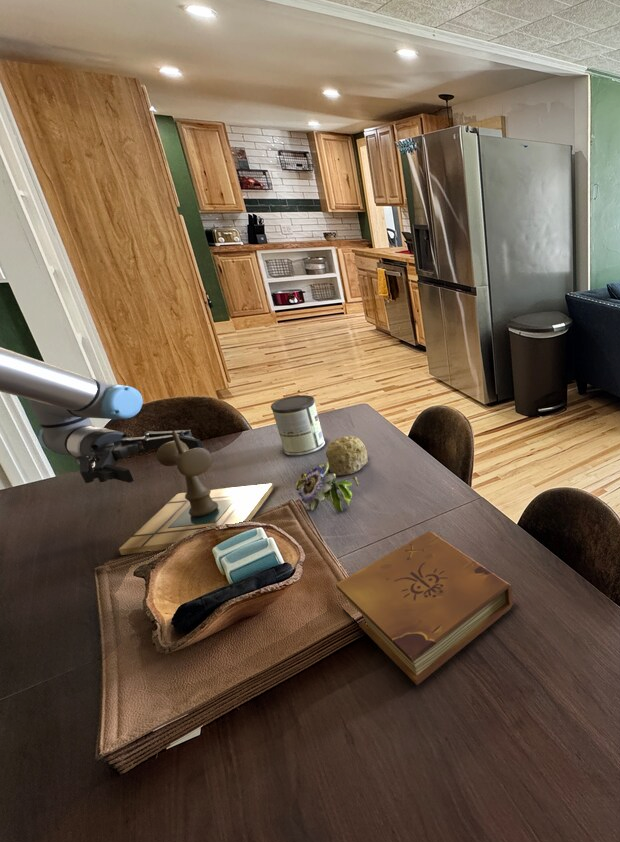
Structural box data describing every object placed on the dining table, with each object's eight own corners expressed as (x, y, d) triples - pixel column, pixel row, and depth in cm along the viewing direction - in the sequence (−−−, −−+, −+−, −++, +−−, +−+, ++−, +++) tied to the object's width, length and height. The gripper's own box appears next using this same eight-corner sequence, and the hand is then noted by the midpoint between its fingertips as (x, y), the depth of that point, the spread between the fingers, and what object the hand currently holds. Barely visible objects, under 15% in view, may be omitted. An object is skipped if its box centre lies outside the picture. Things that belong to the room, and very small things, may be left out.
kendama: (201, 525, 100) (168, 441, 92) (176, 513, 104) (143, 431, 96) (232, 509, 105) (203, 429, 97) (207, 499, 109) (177, 420, 101)
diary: (513, 607, 82) (511, 581, 80) (417, 686, 69) (411, 658, 66) (436, 551, 95) (432, 528, 93) (342, 608, 82) (335, 582, 79)
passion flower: (316, 528, 110) (281, 488, 108) (356, 498, 118) (324, 460, 116) (329, 520, 103) (292, 478, 101) (371, 489, 110) (337, 449, 108)
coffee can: (281, 445, 136) (268, 400, 131) (321, 435, 142) (310, 392, 137) (286, 459, 129) (273, 412, 123) (328, 448, 135) (317, 402, 130)
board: (121, 555, 94) (118, 548, 93) (179, 498, 112) (177, 492, 111) (235, 541, 98) (232, 534, 97) (274, 488, 116) (272, 483, 115)
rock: (327, 480, 126) (307, 461, 118) (348, 444, 133) (331, 425, 125) (359, 486, 125) (342, 468, 117) (380, 450, 131) (364, 430, 123)
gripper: (168, 436, 119) (230, 448, 113) (34, 488, 97) (102, 507, 91) (157, 409, 116) (220, 420, 110) (16, 456, 94) (85, 474, 88)
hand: (167, 459), depth 101 cm, fingers open, 13 cm apart
